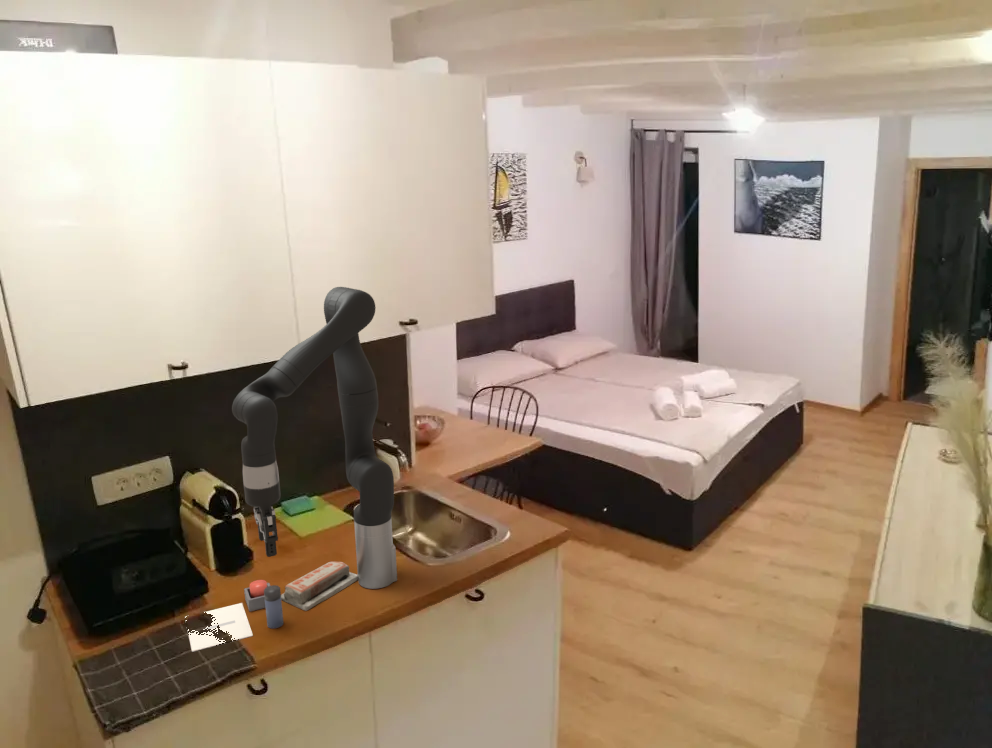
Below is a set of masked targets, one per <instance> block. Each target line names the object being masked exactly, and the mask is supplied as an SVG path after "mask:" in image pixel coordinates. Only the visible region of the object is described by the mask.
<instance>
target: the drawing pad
mask: <svg viewBox="0 0 992 748" xmlns="http://www.w3.org/2000/svg"><path fill="white" fill-rule="evenodd" d="M203 612H204V613H205V612H206V613H207V614H211V615H213V616H212V617H215V618H213V619H212V621H213V622H212V623H211V625H212V626H210V627H208V626H207V627H206V628H205V629H207V628H208V629H211V630H213V629H215V628H216V629H215V630H217V631H216V632H218V628H217V626H218V625H219V627H220V628H219V629H220V630H222V631H223V632H225V633H226V631H227V633H228V632H229V633H228V634H230V635H232V638H231V640H232V639H233V640H236V641H240V640H243V639H247V638H251V637H253V636H254V635H253V631H252V629H251V626H250V622H249V620H248V617H247V614H246V611H245V608H244V603H243V602H239V603H236V604H232V605H231V604H230V605H228V606H223V607H219V608H215V609H211V610H207V611H203ZM187 616H188V615H186V616H184V619H185V618H186V617H187ZM212 617H211V618H212ZM215 619H216V620H215ZM214 620H215V621H214ZM186 621H187V620H185V622H186ZM214 623H215V624H214ZM217 623H218V624H217ZM205 629H203V630H205ZM208 629H207V630H208ZM211 630H210V631H211ZM215 630H213V631H215ZM188 631H189V629H188V630H187V633H188ZM192 631H195V630H192ZM192 631H191V632H192ZM213 631H212V632H213ZM196 632H198V631H195V632H194V633H190V632H189V633H188V634H189V635H188V634H187V635H188V639H189V644H190V649H191V652H192V653H194V652H198V651H200V650H205V649H209V648H212V647H216V645H217V646H220V645H219V644H221V645H223V644H222V643H224V644H226V643H225V642H226V641H225V640H219V638H218V639H217V637H216V638H215V636H213V635H214V634H213V633H212V632H209V631H208V632H207V633H206V632H203V633H201V634H204V633H205V634H204V635H201V634H200V635H198V634H199V632H198V633H197V634H196ZM216 632H215V633H216ZM190 634H191V635H190ZM206 634H208V635H206ZM211 634H212V635H211ZM217 634H218V633H217ZM209 635H211V636H209ZM230 635H229V636H230ZM234 638H235V639H234ZM216 639H217V640H216ZM222 639H223V638H222ZM238 639H239V640H238ZM218 640H219V641H221V642H219V641H218ZM233 640H232V642H234V641H233ZM223 641H225V642H223Z"/></svg>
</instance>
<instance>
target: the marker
mask: <svg viewBox="0 0 992 748" xmlns="http://www.w3.org/2000/svg"><path fill="white" fill-rule="evenodd" d="M281 595H282V593H281V587H280V586H279V585H274V584H273V585H270V586H268V587H266V588H265V589H264V597H265V607H266V608H265V615H266V625H267V628H270V629H277V628H280V627H283V625H284V613H283V605H282V600H281Z"/></svg>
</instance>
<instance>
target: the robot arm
mask: <svg viewBox="0 0 992 748" xmlns="http://www.w3.org/2000/svg"><path fill="white" fill-rule="evenodd" d="M323 314H324V319H325V323H326V324H325V325H324V326H323V327H322V328H321V329H319V330H318V331H317V332H316V333H314V334H313V335H311V336H310V337H307V338H306V339H304V340H302V341H301V342H299V343H298V344H296V345H295V346H293V347H292V348H290V349H289V350H288V351H287V352H285V353H284V355H282V356H281V357H280V359H278V360H277V361H276V363H275V364H273V365H272V367H271V368H270V369H269V370H268V371H267V372H266V373H265V374H263V375H262V376H260V377H258V378H257V379H256V380H254V381H252V382H251V383H249V384H248V385H247V386H246V387H244V388H242V390H240V391H239V392H238V394H237V395H236V397H234V399H233V402H232V405H231V412H232V415H233V416H234V418H235V419H236V420H238V421H239V422H241V423H244V424H245V425H246V430H247V432H246V433H247V435H246V436H244V437H243V438H242V440H241V446H240V448H241V450H240V451H241V458H242V459H241V461H242V482H243V490H244V499H245V500H244V502H245V503H246V504H247V505H248V506H251V507H253V513H254V514H253V515H254V520H255V524H256V525H257V532H258V539H259V541H261V542H262V541H264V546H265V555H266V557H267V558H270V557H274V556H277V555H278V552H277V542H278V541H279V536H278V529H277V527H278V526H277V520H276V519H277V517H276V510H275V508H273V505H274V504H276V503H278V502H279V501H280V499H281V496H282V495H281V486H280V476H279V467H278V463H277V462H278V461H277V455H276V446H275V440H276V435H277V428H278V423H279V419H278V418H279V416H278V410H277V406H276V404H275V400H277V399H279V398H287V397H289V396H291V395H292V394H293V393H294V392H295V391H296V390H297V389H298V388H299V387H300V386H301V385H302V383H304V381H306V379H307V378H308V377H309V376H310V375H311V374H312V373H313V372H314V371H315V370H316V369H317V368H318V367H319V366H320V365H321V364H322V363H323V362H324V361H326V359H328V358H329V357H330V356H331V355H333V363H334V364H333V365H334V370H335V375H336V385H337V393H338V395H337V396H338V402H339V409H340V415H341V422H342V429H343V435H344V442H345V443H344V446H345V448H344V449H345V473H346V479H347V481H348V483H349V484H350V485H351V487H352V488H354V489H355V490H356V491H358V492H359V504H358V505H357V506H355V507H354V509H353V523H354V537H355V538H354V540H355V552H356V569H357V575H358V580H357V583H358V585H360V586H361V587H362V588H365V589H371V590H372V589H373V590H375V589H382V588H385V587H388V586H390V585H391V584H393V582H397V581H398V572H397V571H398V569H397V552H396V551H397V550H396V545H395V544H394V543H393V523H392V511H393V509H394V505H395V504H394V503H395V482H394V481H395V480H394V474H393V470H392V468H391V466H390V465H389V464H388V463H387V462H385V461H384V460H382V459H380V458H378V457H377V454H376V453H377V452H376V449H375V444H374V437H373V436H374V435H373V430H374V425H375V422H376V420H377V419H376V418H377V415H378V411H379V392H378V385H377V379H376V376H375V373H374V371H373V369H372V366H371V365H370V362H369V360H368V357H367V356H366V353H365V352H364V350H363V347H362V345H361V341H360V335H359V333H360V332H361V331H362V330H364V329H365V328H366V327H367V326H368V325H370V323H371V322H372V321H373V319H374V316H375V314H376V302H375V299H374V297H373V296H372V295H371V294H369V293H368V292H366V291H364V290H361V289H357V288H351V287H346V286H335V287H333V288H332V289H331V290H329V292H327V293H326V296H325V299H324V302H323ZM270 533H272V534H271V535H270Z"/></svg>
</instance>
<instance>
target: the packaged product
mask: <svg viewBox="0 0 992 748" xmlns="http://www.w3.org/2000/svg"><path fill="white" fill-rule="evenodd" d="M355 582H358V574H356V573H353V572H351V571H350V566H349V565H348V564H346V563H345V562H343V561H334V560H333V561H329V562H326V563H325V564H323V565H321V566H319V567H318V568H316V569H314V570H311V571H310V572H308V573H306V574H305V575H302V576H301V577H298V578H297V579H295V580H294V581H291V582H290V583H289V582H288V584H286V585H285V586H284V590H285V591H284V593H281V601H283V602H285V603H287V604H290V605H291V606H294V607H296V608H298V609H300V610H303V611H304V612H306V611H309V610H310V609H312V608H314V607H315V606H317V605H318V604H320V603H322V602H324V601H326V600H327V599H329V598H331V597H333V596H335V595H336V594H337V593H339V592H341V591H343V590H344V589H345V588H348V587H349V586H351V585H352V584H354V583H355Z"/></svg>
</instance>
